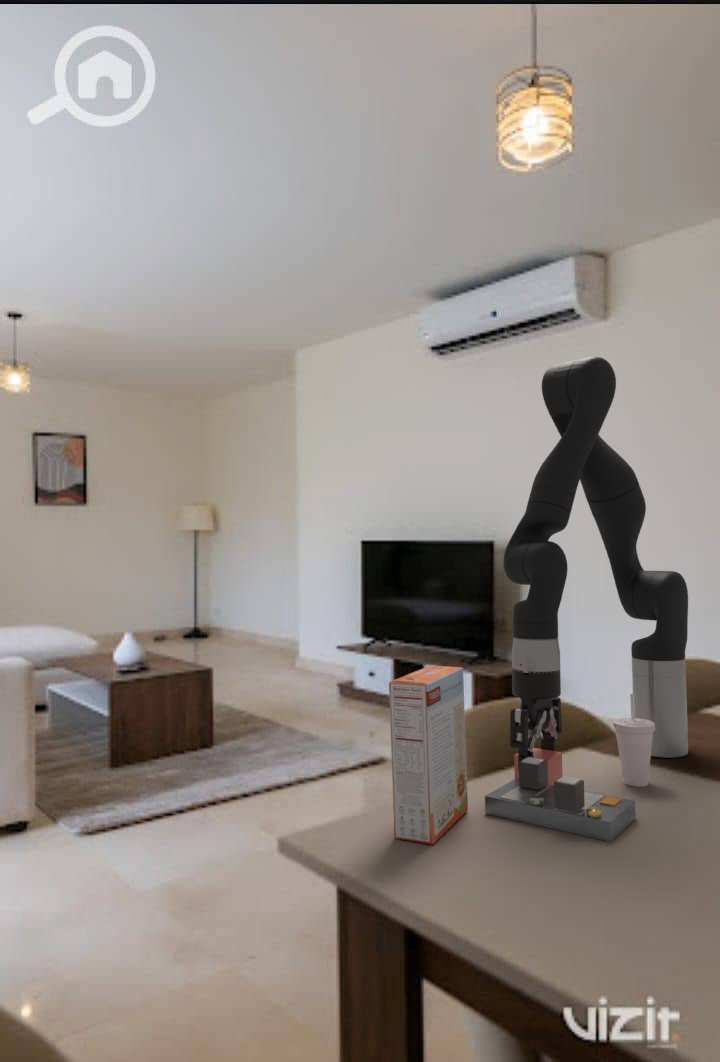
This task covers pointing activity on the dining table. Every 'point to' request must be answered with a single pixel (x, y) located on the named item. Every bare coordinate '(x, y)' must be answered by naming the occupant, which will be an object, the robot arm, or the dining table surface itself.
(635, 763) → the smoothie
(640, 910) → the dining table surface
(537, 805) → the panel
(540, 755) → the salmon pink cube
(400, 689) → the cracker box
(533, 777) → the toggle
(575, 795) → the toggle
